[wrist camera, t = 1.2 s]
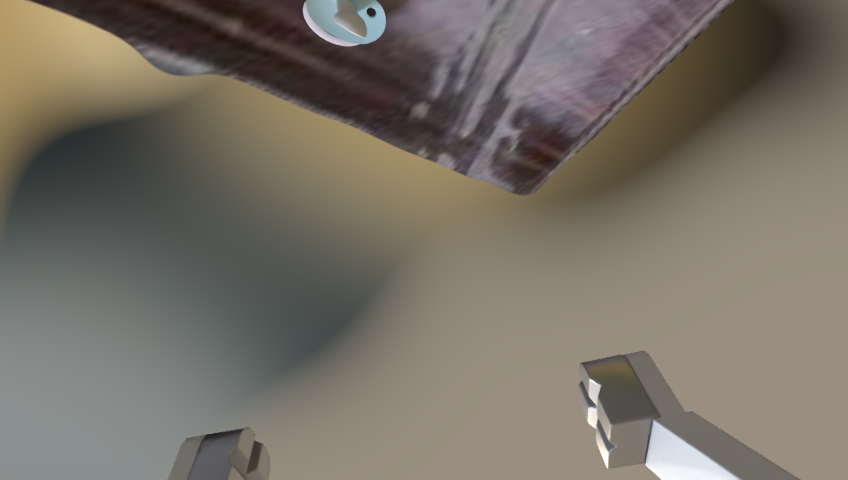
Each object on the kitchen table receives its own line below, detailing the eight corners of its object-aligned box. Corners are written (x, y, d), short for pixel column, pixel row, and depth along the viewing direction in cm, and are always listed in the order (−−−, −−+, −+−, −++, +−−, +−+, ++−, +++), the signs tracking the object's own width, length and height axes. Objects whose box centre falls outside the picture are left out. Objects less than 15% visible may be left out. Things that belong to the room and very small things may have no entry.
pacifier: (359, 53, 46) (390, 1, 42) (365, 90, 42) (400, 37, 38) (289, 18, 42) (317, -43, 38) (290, 55, 38) (320, -8, 34)
